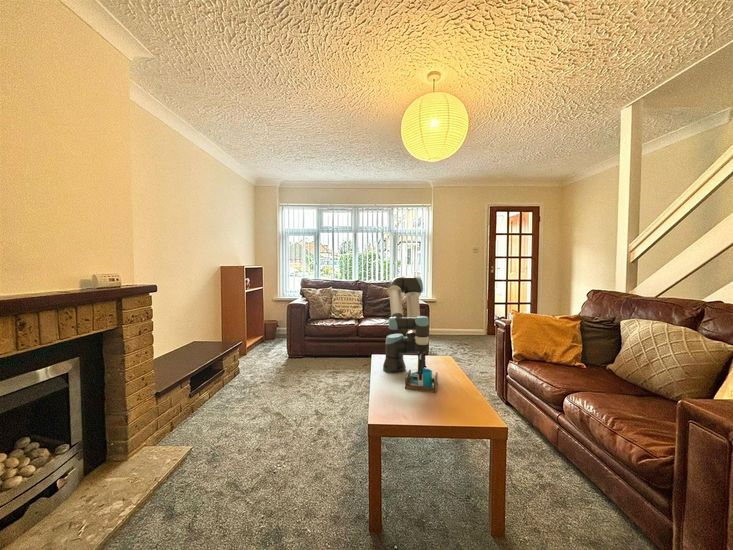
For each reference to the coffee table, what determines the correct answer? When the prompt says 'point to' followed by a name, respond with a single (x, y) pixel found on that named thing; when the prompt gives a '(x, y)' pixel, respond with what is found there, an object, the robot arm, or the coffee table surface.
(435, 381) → the tray
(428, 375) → the mug
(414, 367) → the coffee table surface
